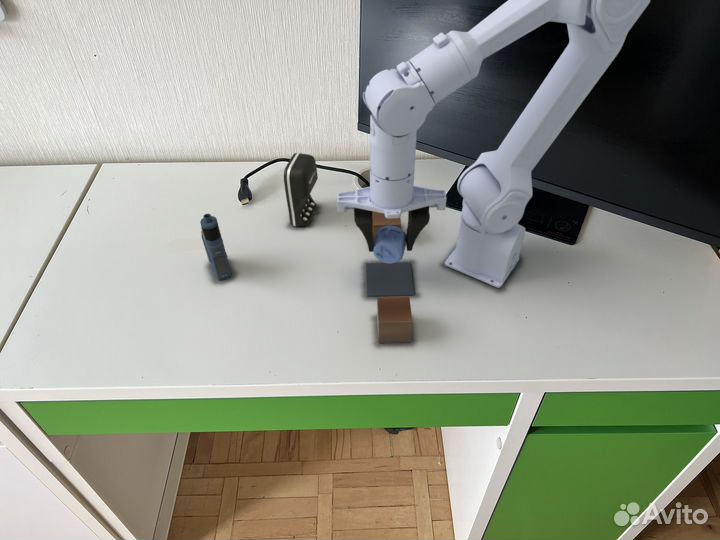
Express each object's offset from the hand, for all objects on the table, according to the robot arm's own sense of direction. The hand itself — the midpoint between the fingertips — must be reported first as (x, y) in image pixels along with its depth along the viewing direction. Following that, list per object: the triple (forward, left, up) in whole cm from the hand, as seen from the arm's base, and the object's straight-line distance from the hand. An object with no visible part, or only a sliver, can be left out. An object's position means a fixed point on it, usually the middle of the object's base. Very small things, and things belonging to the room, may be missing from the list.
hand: (389, 246), depth 77 cm
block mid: (+6, -8, -7) cm, 12 cm away
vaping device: (+23, +13, -7) cm, 27 cm away
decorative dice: (0, 0, -2) cm, 2 cm away
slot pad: (0, 0, -7) cm, 7 cm away
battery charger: (+20, -5, -7) cm, 22 cm away
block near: (-6, +8, -7) cm, 12 cm away
